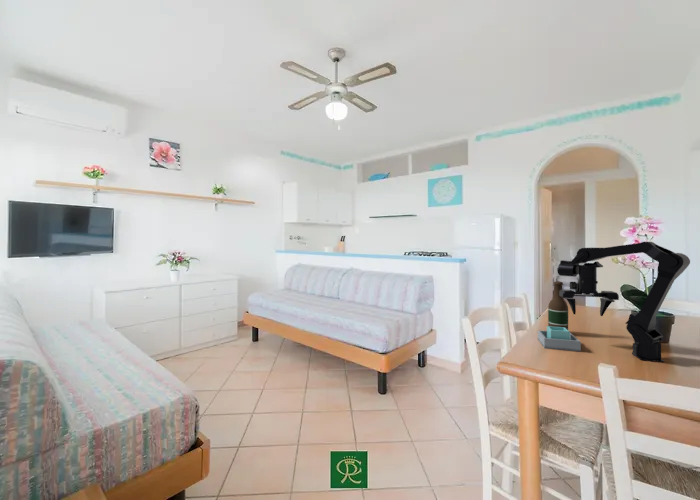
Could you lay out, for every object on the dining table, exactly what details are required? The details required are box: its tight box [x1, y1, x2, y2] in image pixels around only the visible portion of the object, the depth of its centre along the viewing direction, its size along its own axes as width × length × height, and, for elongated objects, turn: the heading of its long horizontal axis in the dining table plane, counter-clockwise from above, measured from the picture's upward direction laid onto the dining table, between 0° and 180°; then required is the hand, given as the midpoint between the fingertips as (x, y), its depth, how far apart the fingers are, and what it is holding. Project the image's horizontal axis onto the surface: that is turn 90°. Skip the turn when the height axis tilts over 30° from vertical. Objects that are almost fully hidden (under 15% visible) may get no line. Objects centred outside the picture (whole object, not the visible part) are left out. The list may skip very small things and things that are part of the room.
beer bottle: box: [547, 281, 569, 331], centre depth 140 cm, size 8×8×24 cm
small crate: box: [546, 325, 571, 340], centre depth 123 cm, size 6×6×6 cm
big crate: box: [537, 329, 582, 352], centre depth 123 cm, size 12×12×4 cm
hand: (587, 315), depth 124 cm, fingers open, 9 cm apart
